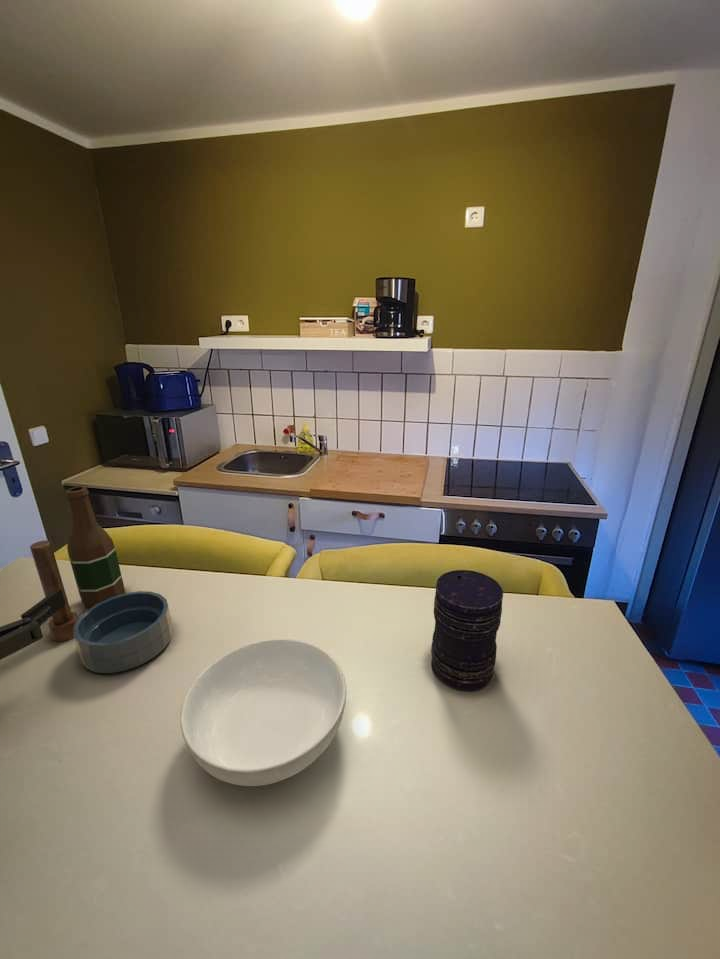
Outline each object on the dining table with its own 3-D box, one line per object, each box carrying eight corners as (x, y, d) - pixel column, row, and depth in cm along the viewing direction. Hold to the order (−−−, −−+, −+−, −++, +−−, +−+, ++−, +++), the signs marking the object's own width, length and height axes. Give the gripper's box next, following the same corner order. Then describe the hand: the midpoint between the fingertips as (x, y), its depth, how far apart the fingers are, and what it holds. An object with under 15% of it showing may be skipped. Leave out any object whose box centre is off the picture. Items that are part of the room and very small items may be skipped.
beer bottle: (124, 606, 84) (96, 492, 75) (78, 616, 81) (44, 499, 73) (128, 585, 91) (103, 479, 82) (86, 593, 88) (56, 484, 80)
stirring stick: (46, 637, 76) (17, 548, 69) (70, 622, 79) (45, 536, 73) (63, 644, 74) (35, 553, 68) (87, 628, 78) (62, 540, 72)
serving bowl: (368, 692, 64) (367, 655, 61) (304, 843, 45) (300, 799, 43) (248, 658, 70) (244, 623, 68) (150, 778, 52) (139, 736, 50)
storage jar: (506, 684, 65) (518, 601, 60) (448, 699, 62) (455, 614, 57) (472, 640, 74) (480, 565, 69) (420, 652, 71) (424, 575, 66)
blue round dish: (62, 661, 70) (52, 631, 68) (133, 611, 82) (127, 584, 80) (123, 686, 65) (115, 655, 63) (190, 629, 77) (185, 601, 75)
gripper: (-218, 718, 51) (-39, 607, 70) (-32, 741, 48) (100, 618, 67) (-249, 669, 48) (-55, 568, 68) (-56, 689, 45) (89, 577, 65)
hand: (22, 593), depth 68 cm, fingers open, 13 cm apart
